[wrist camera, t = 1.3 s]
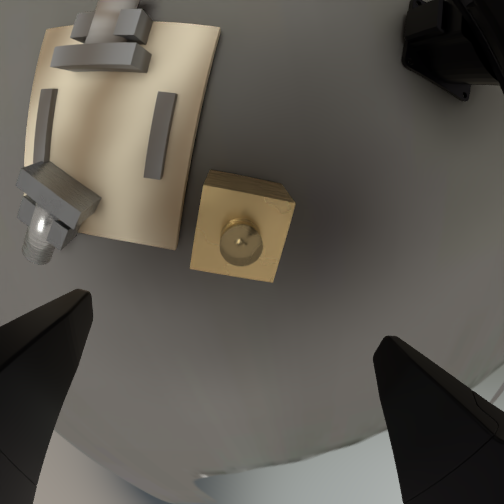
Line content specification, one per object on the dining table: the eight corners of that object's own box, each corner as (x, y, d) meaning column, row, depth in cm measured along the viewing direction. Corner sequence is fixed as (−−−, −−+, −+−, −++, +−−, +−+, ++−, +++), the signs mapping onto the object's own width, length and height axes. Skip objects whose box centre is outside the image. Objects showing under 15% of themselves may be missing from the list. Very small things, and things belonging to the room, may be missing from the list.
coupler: (280, 183, 18) (301, 210, 13) (264, 247, 20) (275, 294, 15) (210, 169, 18) (201, 191, 12) (198, 236, 19) (186, 280, 14)
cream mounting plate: (228, 6, 13) (227, -21, 9) (177, 243, 19) (166, 273, 16) (61, 7, 11) (32, -7, 8) (32, 217, 18) (2, 238, 14)
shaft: (47, 159, 15) (21, 168, 12) (101, 197, 17) (81, 212, 14) (24, 225, 17) (1, 241, 14) (72, 261, 18) (53, 283, 16)
